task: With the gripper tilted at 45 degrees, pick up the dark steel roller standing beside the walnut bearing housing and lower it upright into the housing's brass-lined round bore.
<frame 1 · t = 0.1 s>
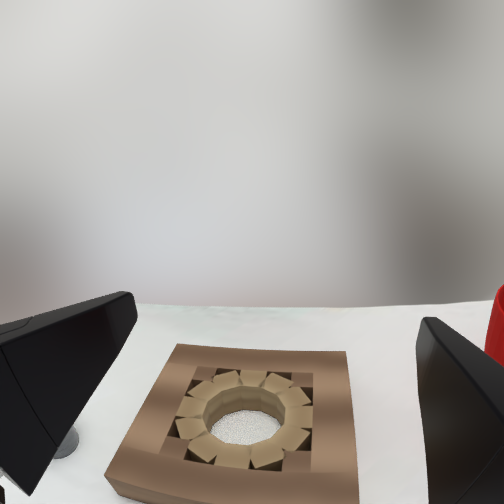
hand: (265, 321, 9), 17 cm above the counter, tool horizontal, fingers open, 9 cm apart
bearing housing: (246, 436, 23), on the counter
steel roller: (58, 440, 21), on the counter
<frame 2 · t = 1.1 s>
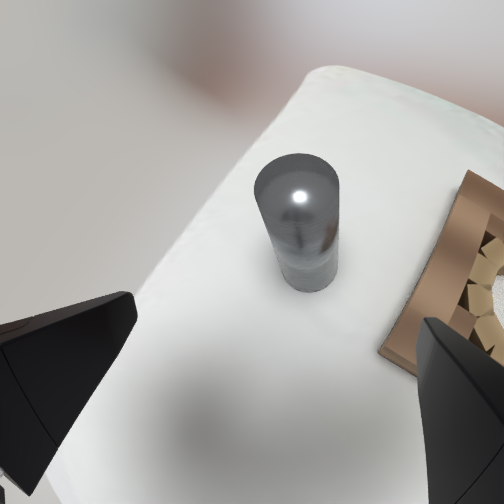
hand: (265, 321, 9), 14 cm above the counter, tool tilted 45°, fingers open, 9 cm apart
steel roller: (309, 265, 24), on the counter
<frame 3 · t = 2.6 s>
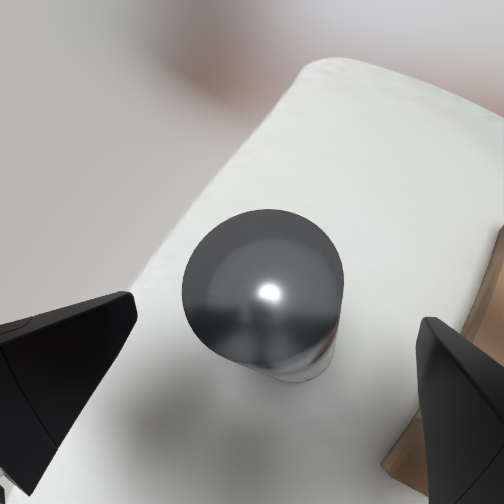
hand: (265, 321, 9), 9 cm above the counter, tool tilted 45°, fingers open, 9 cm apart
steel roller: (295, 344, 17), on the counter
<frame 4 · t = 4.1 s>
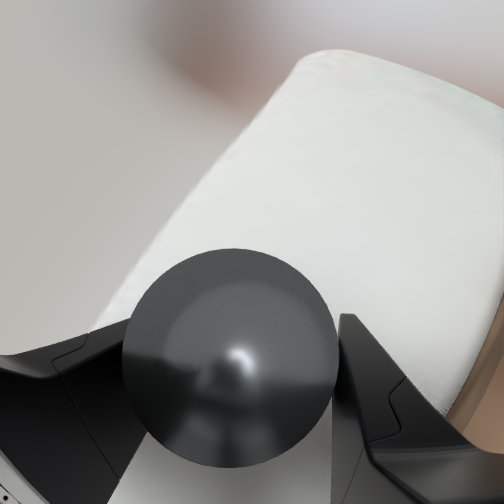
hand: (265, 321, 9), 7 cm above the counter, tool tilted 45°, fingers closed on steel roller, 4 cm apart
steel roller: (286, 380, 14), on the counter, touching gripper
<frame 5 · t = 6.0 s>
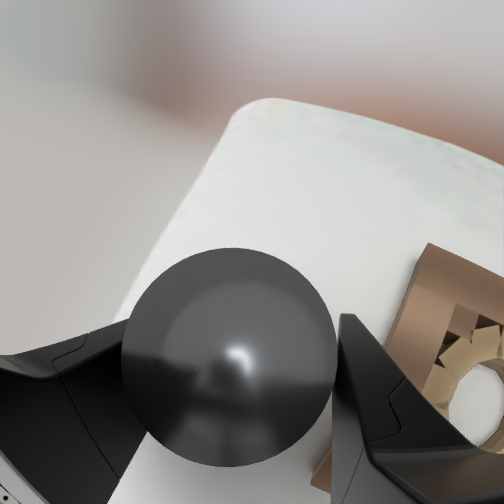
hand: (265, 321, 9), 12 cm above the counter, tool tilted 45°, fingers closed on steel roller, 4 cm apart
bearing housing: (472, 407, 16), on the counter
steel roller: (285, 379, 14), point 6 cm above the counter, touching gripper
when the fingers open (8 cm above the counter, at t = 8.4 s): steel roller drops 1 cm, resting in bearing housing.
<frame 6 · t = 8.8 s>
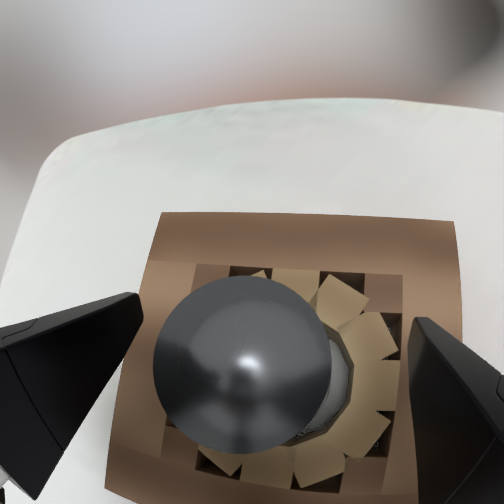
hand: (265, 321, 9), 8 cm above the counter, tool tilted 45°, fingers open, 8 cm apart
bearing housing: (290, 381, 16), on the counter
steel roller: (289, 383, 16), resting in bearing housing
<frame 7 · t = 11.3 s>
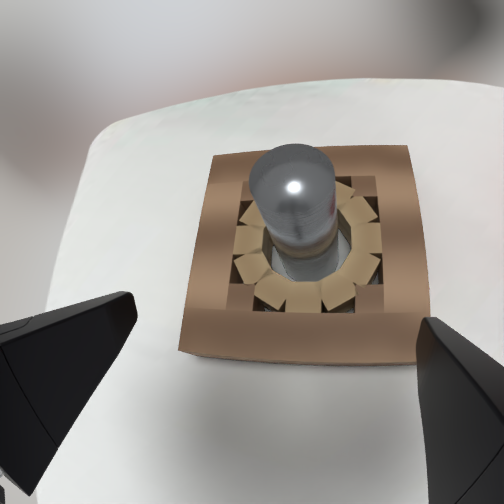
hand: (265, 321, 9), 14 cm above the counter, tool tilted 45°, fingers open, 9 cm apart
bearing housing: (310, 256, 24), on the counter
steel roller: (310, 257, 24), resting in bearing housing
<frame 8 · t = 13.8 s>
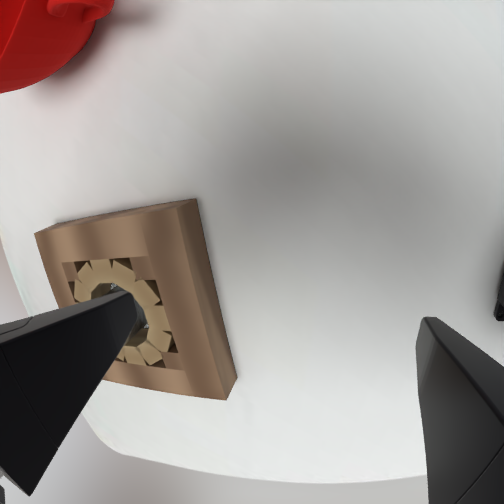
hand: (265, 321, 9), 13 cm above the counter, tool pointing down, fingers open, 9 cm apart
ceramic cup: (86, 26, 20), on the counter
bearing housing: (136, 299, 28), on the counter
steel roller: (137, 300, 28), resting in bearing housing
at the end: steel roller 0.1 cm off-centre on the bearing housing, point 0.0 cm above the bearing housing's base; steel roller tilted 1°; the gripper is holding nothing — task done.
